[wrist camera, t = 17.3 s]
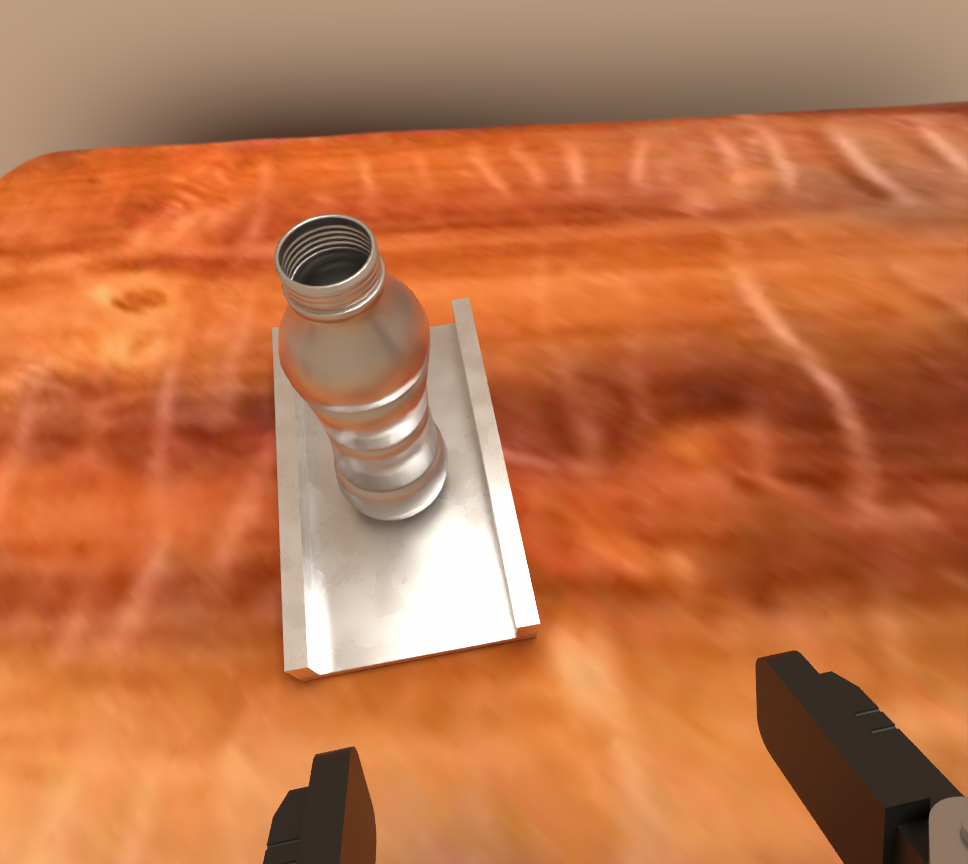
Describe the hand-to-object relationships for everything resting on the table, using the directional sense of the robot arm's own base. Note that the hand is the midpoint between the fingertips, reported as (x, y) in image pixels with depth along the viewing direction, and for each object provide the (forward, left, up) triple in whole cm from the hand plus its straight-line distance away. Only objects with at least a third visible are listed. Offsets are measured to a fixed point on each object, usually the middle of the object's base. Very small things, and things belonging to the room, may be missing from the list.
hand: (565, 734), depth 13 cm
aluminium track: (+18, +5, -24) cm, 30 cm away
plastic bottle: (+17, +4, -24) cm, 29 cm away
